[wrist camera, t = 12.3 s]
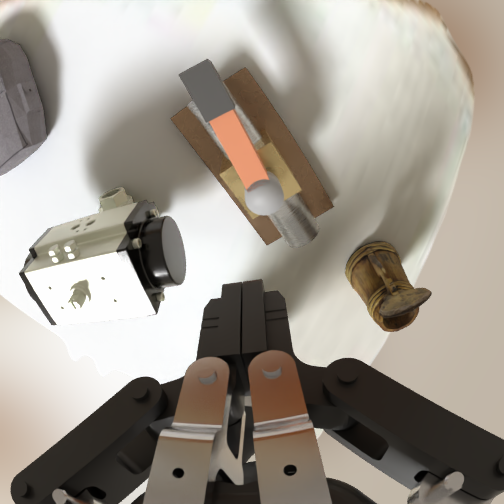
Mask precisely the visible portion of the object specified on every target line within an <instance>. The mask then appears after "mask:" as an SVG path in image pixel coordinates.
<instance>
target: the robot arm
mask: <svg viewBox="0 0 504 504" xmlns="http://www.w3.org/2000/svg"><path fill="white" fill-rule="evenodd" d="M314 428H320V429H324V431H325V432H326V433H327V434H329V435H330V436H331V437H333V438H334V439H336V440H337V441H338V442H340V443H341V444H342V445H344V446H345V447H347V448H348V449H350V450H351V451H352V452H354V453H355V454H356V455H358V456H359V457H361V458H362V459H364V460H365V461H367V462H368V463H370V464H371V465H373V466H374V467H376V468H377V469H379V470H380V471H382V472H383V473H385V474H386V475H388V476H389V477H391V478H393V479H394V480H396V481H397V482H399V483H401V484H403V485H404V486H405V487H407V488H409V489H410V490H411V491H410V493H409V496H408V501H407V502H408V504H490V503H491V502H492V500H493V499H494V497H496V496H497V495H499V494H500V493H502V492H504V440H503V439H501V438H499V437H497V436H495V435H494V434H491V433H490V432H488V431H486V430H484V429H482V428H480V427H478V426H476V425H474V424H472V423H470V422H469V421H467V420H465V419H463V418H461V417H459V416H457V415H455V414H454V413H452V412H450V411H448V410H446V409H444V408H442V407H441V406H439V405H437V404H435V403H434V402H432V401H430V400H428V399H426V398H424V397H423V396H421V395H419V394H417V393H415V392H414V391H412V390H410V389H409V388H407V387H405V386H403V385H401V384H400V383H398V382H396V381H394V380H393V379H391V378H389V377H388V376H386V375H384V374H382V373H381V372H379V371H377V370H376V369H374V368H372V367H371V366H369V365H367V364H365V363H364V362H362V361H360V360H357V359H354V358H342V359H338V360H336V361H334V362H332V363H331V364H329V365H328V367H317V366H311V365H307V364H305V363H303V362H301V361H300V360H299V359H298V358H297V357H296V356H295V354H294V352H293V348H292V342H291V335H290V329H289V322H288V316H287V310H286V303H285V298H284V297H283V296H282V295H281V294H280V293H279V291H278V290H277V291H270V292H264V286H263V280H262V279H259V280H252V281H245V282H243V283H242V282H238V283H230V284H223V285H222V294H221V298H217V299H211V300H210V301H209V303H208V304H207V305H206V307H205V308H204V313H203V321H202V325H201V331H200V338H199V344H198V351H197V358H196V361H195V362H193V363H192V364H191V365H190V366H189V367H188V369H187V370H186V373H185V376H183V377H181V378H179V379H177V380H174V381H171V382H167V383H164V384H161V385H160V384H159V382H158V381H157V380H155V379H154V378H151V377H139V378H136V379H134V380H132V381H131V382H129V383H128V384H127V385H126V386H125V387H123V388H122V389H121V390H120V391H119V392H118V393H116V394H115V395H114V396H113V397H112V398H110V399H109V400H108V401H107V402H106V403H104V404H103V405H102V406H101V407H100V408H99V409H97V410H96V411H95V412H94V413H92V414H91V415H90V416H89V417H88V418H86V419H85V420H84V421H83V422H82V423H80V424H79V425H78V426H77V427H76V428H75V429H73V430H72V431H71V432H69V433H68V434H67V435H66V436H65V437H64V438H62V439H61V440H60V441H58V442H57V443H56V444H55V445H54V446H52V447H51V448H50V449H49V450H47V451H46V452H45V453H44V454H42V455H41V456H40V457H39V458H37V459H36V460H35V461H34V462H32V463H31V464H30V465H29V466H27V467H26V468H25V469H24V470H22V471H21V472H20V473H19V474H17V475H16V476H15V477H14V479H13V481H12V483H11V496H12V499H13V501H14V502H15V504H118V503H120V502H121V501H122V500H123V499H124V498H126V497H127V496H128V495H129V494H130V493H132V492H133V491H134V490H135V489H136V488H137V487H138V486H140V485H141V484H142V483H143V482H144V481H145V480H146V479H148V478H149V480H148V484H147V488H146V492H144V493H143V494H141V495H140V496H139V497H138V498H137V499H136V500H134V501H133V502H132V503H131V504H377V503H375V502H374V501H373V500H371V499H370V498H369V497H367V496H366V495H364V494H363V493H362V492H361V491H359V490H358V489H356V488H355V487H353V486H351V485H349V484H347V483H345V482H342V481H339V480H336V479H332V478H326V476H325V472H324V468H323V464H322V459H321V455H320V452H319V447H318V443H317V439H316V435H315V431H314ZM254 453H255V458H256V461H254V462H248V463H246V462H247V461H248V459H249V458H250V457H251V456H252V455H253V454H254Z"/></svg>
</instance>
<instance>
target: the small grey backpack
mask: <svg viewBox="0 0 504 504" xmlns="http://www.w3.org/2000/svg"><path fill="white" fill-rule="evenodd" d="M46 139H47V134H46V126H45V117H44V109H43V106H42V103H41V99H40V96H39V93H38V90H37V86H36V83H35V80H34V77H33V74H32V71H31V68H30V65H29V62H28V59H27V57H26V55H25V53H24V51H23V50H22V48H21V46H20V44H17V43H15V42H13V41H11V40H9V39H0V176H1V175H3V174H5V173H7V172H9V171H10V170H12V169H13V168H15V167H16V166H18V165H19V164H20V163H22V162H23V161H24V160H25V159H27V158H28V157H29V156H30V155H31V154H33V153H34V152H35V151H36V150H37V149H38V148H39V147H40V146H41V145H42V144H43V142H44V141H45V140H46Z"/></svg>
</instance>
